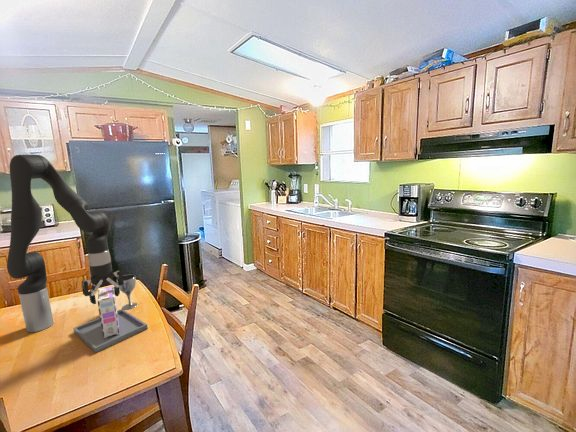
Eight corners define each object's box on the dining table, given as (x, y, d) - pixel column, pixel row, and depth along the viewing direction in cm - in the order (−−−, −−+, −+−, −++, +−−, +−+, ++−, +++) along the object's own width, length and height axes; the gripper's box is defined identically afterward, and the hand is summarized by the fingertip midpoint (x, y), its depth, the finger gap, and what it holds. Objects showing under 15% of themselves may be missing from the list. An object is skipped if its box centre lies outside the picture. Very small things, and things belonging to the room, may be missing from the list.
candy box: (120, 334, 120) (114, 296, 117) (103, 339, 117) (96, 300, 114) (119, 319, 132) (113, 285, 129) (103, 323, 129) (97, 288, 126)
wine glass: (131, 310, 141) (127, 281, 138) (117, 309, 143) (112, 280, 140) (142, 302, 149) (138, 274, 146) (128, 301, 150) (124, 273, 147)
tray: (74, 332, 124) (73, 328, 124) (122, 312, 139) (122, 309, 139) (95, 353, 109) (94, 348, 109) (147, 328, 125) (147, 324, 124)
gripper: (115, 255, 127) (120, 291, 130) (76, 265, 116) (82, 303, 119) (122, 258, 122) (127, 295, 125) (83, 269, 111) (89, 309, 114)
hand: (105, 299), depth 122 cm, fingers open, 8 cm apart
